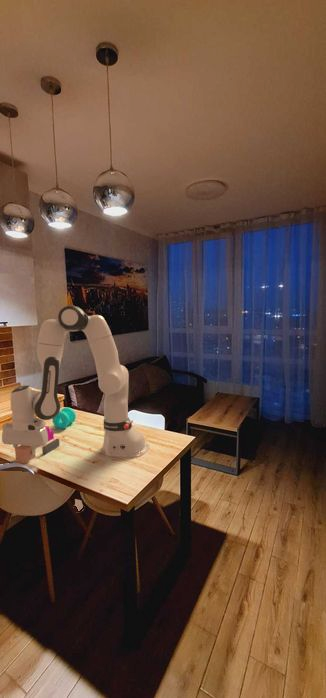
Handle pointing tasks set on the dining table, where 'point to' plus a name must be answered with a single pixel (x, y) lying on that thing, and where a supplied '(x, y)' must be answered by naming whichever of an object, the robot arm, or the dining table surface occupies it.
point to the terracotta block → (24, 453)
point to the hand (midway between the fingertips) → (26, 453)
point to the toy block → (49, 433)
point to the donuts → (64, 418)
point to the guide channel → (50, 446)
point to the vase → (78, 504)
